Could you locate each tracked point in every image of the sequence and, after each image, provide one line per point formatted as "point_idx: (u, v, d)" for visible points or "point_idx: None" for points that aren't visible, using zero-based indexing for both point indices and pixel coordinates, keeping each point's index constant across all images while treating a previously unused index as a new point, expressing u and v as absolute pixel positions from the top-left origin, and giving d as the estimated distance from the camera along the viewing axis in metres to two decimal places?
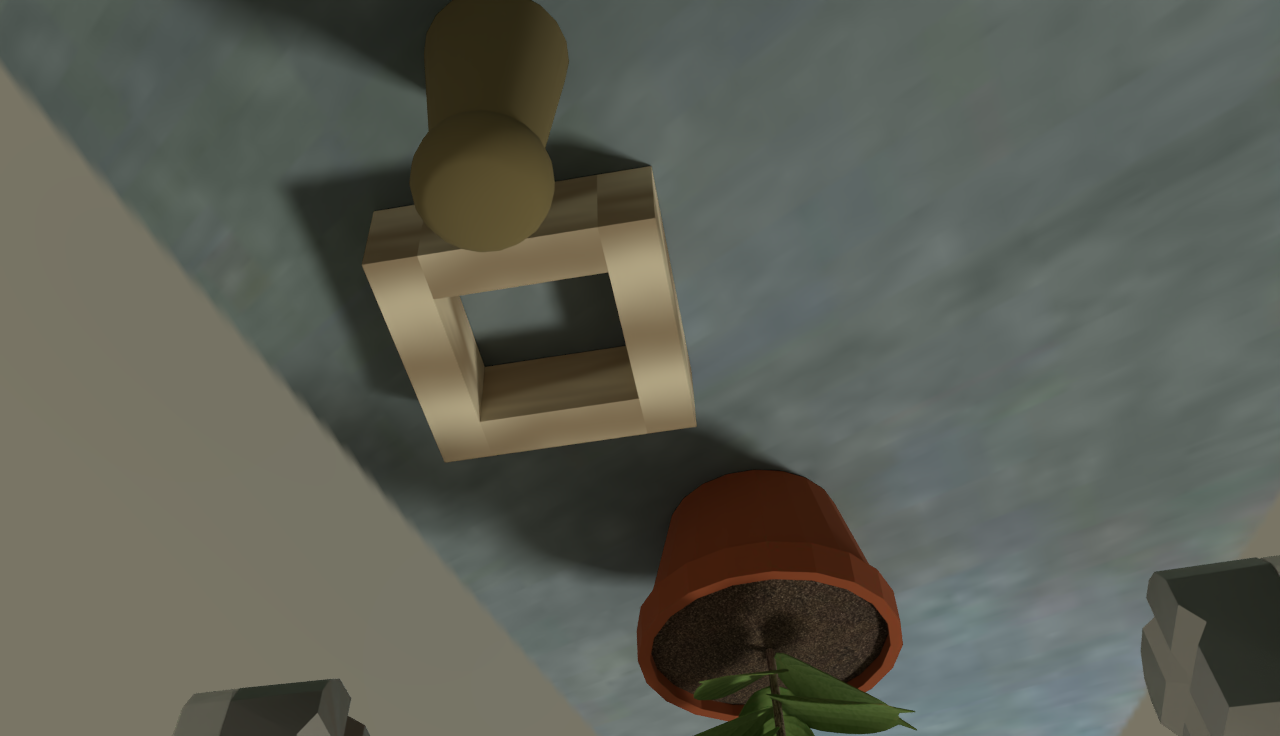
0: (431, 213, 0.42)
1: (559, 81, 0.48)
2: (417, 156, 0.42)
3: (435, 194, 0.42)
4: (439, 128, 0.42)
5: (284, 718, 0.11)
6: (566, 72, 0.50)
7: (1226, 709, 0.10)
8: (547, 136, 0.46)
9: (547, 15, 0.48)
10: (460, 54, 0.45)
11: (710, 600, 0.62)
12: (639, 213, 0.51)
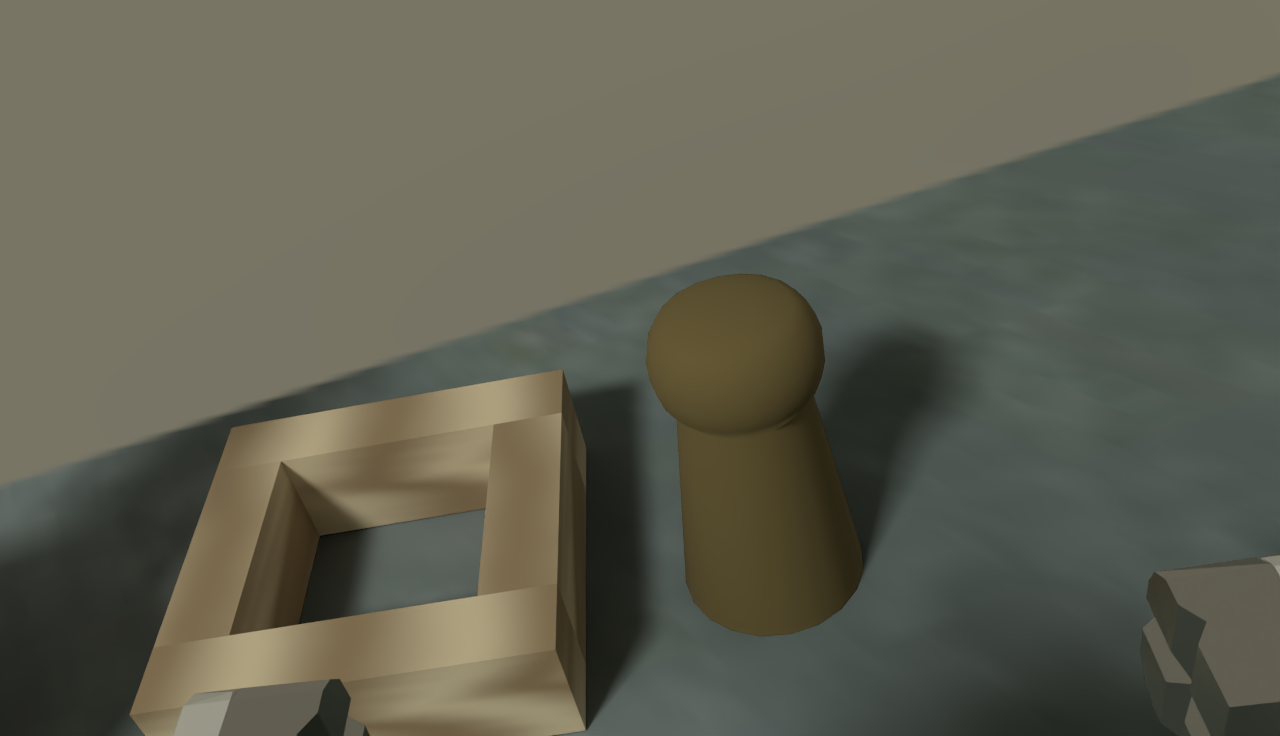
0: (723, 276, 0.35)
1: (765, 578, 0.37)
2: None
3: (751, 278, 0.35)
4: None
5: (284, 718, 0.11)
6: (747, 632, 0.38)
7: (1226, 710, 0.10)
8: (737, 492, 0.35)
9: (829, 612, 0.38)
10: None
11: None
12: (559, 642, 0.35)
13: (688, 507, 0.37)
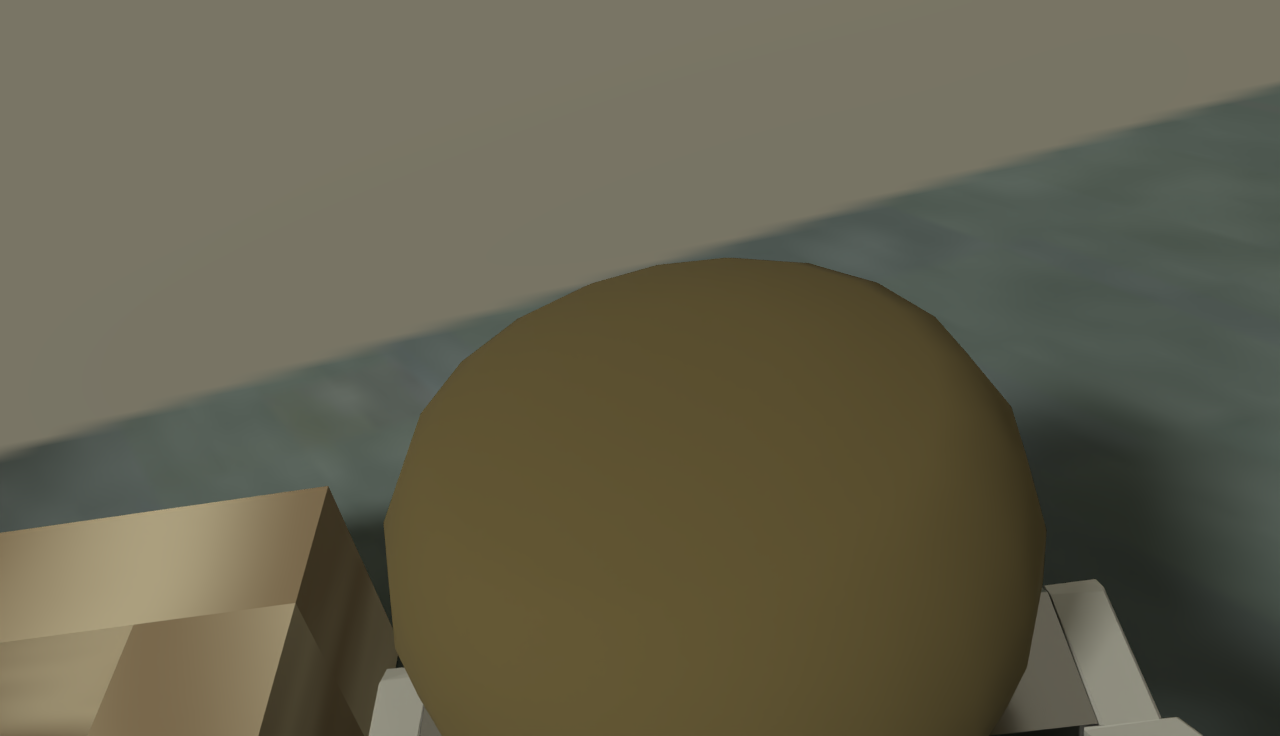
0: (676, 265, 0.10)
1: None
2: None
3: (772, 272, 0.10)
4: None
5: None
6: None
7: None
8: None
9: None
10: None
11: None
12: None
13: None
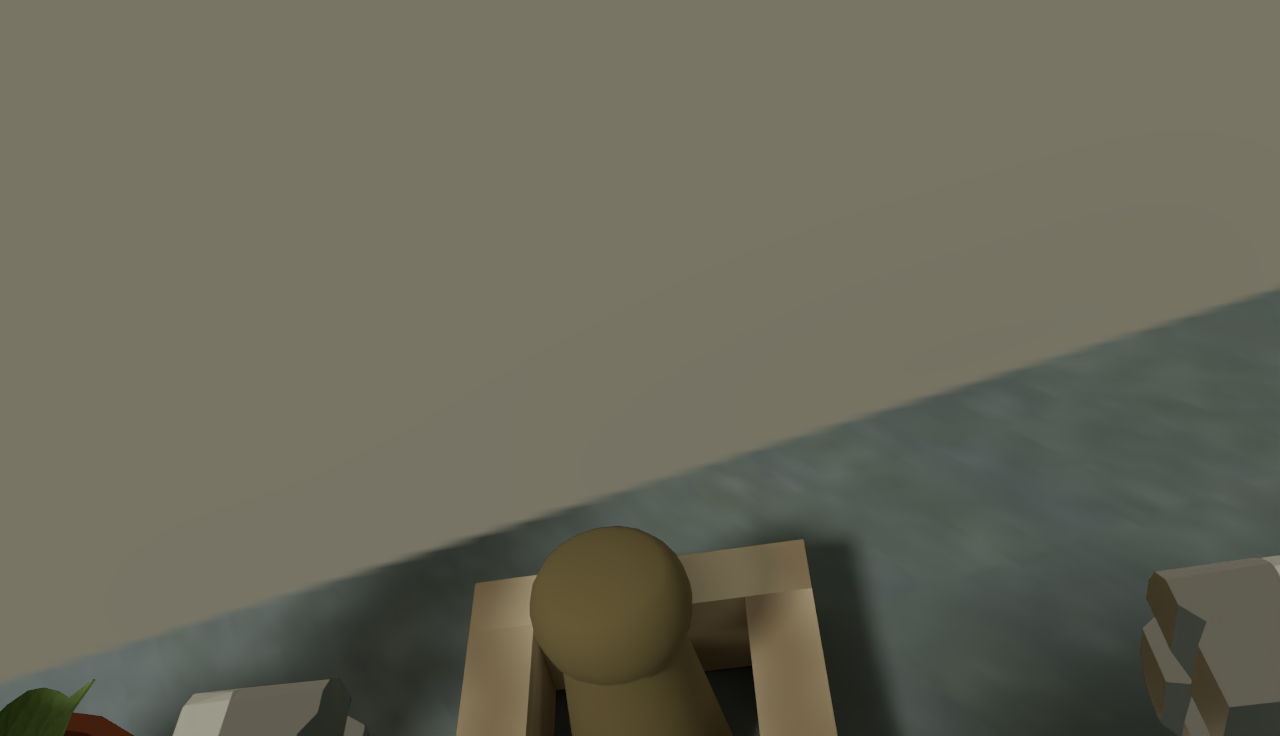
0: (602, 531, 0.38)
1: None
2: None
3: (626, 535, 0.38)
4: None
5: (284, 718, 0.11)
6: None
7: (1226, 709, 0.10)
8: (613, 729, 0.38)
9: None
10: (708, 681, 0.41)
11: None
12: None
13: (574, 732, 0.40)
